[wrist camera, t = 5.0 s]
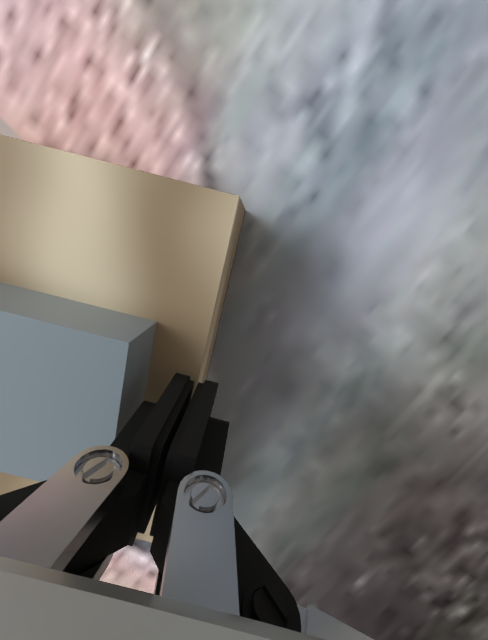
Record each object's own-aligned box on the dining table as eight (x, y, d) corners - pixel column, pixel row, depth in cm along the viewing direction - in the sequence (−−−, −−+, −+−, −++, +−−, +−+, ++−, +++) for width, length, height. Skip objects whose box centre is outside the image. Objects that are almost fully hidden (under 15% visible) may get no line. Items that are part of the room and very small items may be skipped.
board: (245, 209, 13) (239, 196, 9) (182, 478, 18) (161, 544, 14) (-90, 123, 13) (-236, 73, 9) (-72, 416, 17) (-166, 465, 14)
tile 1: (157, 321, 11) (128, 342, 8) (135, 450, 12) (106, 497, 10) (2, 282, 11) (-69, 292, 8) (0, 416, 12) (-61, 457, 10)
